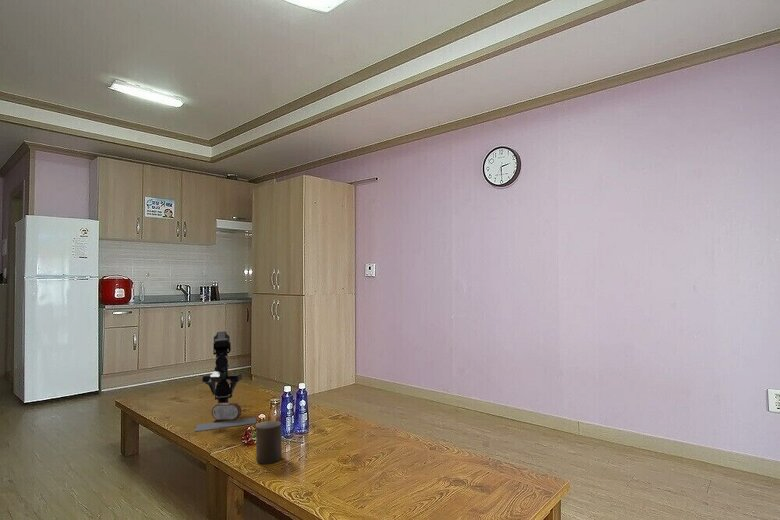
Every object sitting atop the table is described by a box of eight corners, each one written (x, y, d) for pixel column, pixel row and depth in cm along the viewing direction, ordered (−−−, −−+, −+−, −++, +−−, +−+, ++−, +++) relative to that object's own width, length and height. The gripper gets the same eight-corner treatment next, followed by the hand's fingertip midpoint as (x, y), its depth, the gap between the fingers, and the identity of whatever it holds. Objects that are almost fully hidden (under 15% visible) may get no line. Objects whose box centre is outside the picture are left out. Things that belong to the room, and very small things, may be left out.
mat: (196, 425, 223) (196, 424, 223) (255, 417, 233) (255, 417, 233) (194, 431, 214) (194, 431, 214) (256, 423, 223) (256, 422, 223)
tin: (241, 418, 231) (241, 401, 232) (239, 420, 228) (238, 403, 229) (213, 419, 232) (213, 402, 233) (210, 421, 229) (210, 404, 230)
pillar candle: (272, 465, 172) (271, 425, 172) (251, 462, 175) (250, 423, 176) (286, 456, 181) (286, 418, 182) (266, 453, 184) (265, 416, 185)
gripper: (196, 367, 221) (196, 399, 221) (232, 367, 219) (233, 399, 219) (207, 362, 232) (207, 393, 232) (242, 362, 230) (242, 393, 230)
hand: (222, 394), depth 228 cm, fingers open, 9 cm apart
